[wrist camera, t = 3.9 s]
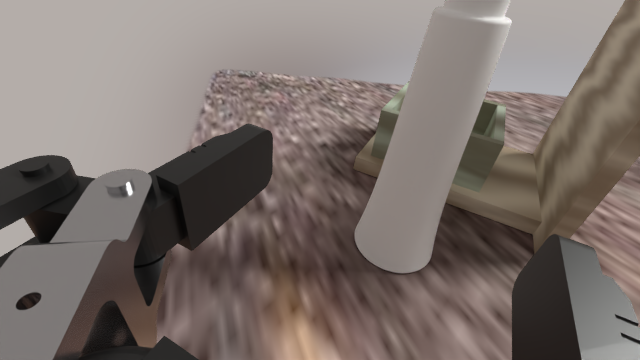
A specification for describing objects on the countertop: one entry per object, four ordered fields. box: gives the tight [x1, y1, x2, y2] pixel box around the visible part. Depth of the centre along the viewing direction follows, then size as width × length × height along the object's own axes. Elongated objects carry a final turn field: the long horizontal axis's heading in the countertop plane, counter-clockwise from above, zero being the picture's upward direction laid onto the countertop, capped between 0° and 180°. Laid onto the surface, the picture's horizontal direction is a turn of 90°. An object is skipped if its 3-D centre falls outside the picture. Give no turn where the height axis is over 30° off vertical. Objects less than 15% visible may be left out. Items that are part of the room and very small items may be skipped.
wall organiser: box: [353, 0, 640, 254], centre depth 27 cm, size 16×18×22 cm
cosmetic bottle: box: [355, 0, 512, 273], centre depth 18 cm, size 6×6×22 cm
